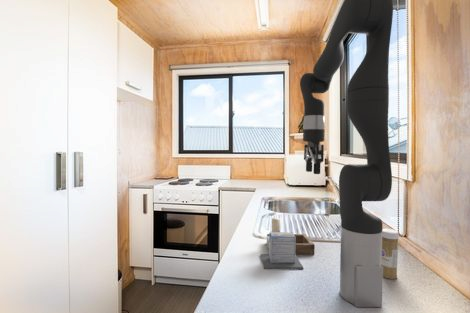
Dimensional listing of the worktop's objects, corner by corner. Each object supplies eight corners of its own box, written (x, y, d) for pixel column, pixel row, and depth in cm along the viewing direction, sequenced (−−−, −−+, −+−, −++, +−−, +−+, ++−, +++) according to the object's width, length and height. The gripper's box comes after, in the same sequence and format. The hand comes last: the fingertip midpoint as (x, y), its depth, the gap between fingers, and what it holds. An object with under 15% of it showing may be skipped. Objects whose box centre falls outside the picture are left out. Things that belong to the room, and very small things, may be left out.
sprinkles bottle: (375, 273, 78) (377, 228, 77) (386, 271, 79) (387, 227, 79) (390, 280, 73) (391, 233, 73) (401, 278, 75) (402, 231, 75)
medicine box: (292, 257, 87) (292, 232, 87) (295, 263, 83) (296, 236, 82) (268, 257, 87) (269, 231, 87) (270, 263, 83) (271, 236, 82)
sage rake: (281, 251, 94) (281, 221, 93) (269, 251, 93) (269, 221, 93) (277, 244, 101) (278, 216, 100) (266, 244, 100) (267, 216, 100)
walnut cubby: (314, 254, 92) (314, 244, 91) (271, 254, 91) (271, 244, 91) (305, 243, 103) (305, 234, 103) (267, 242, 103) (267, 233, 103)
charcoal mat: (303, 269, 80) (303, 267, 80) (264, 269, 80) (264, 267, 80) (295, 255, 90) (295, 254, 90) (260, 255, 90) (260, 254, 90)
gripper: (331, 127, 88) (330, 175, 89) (317, 130, 103) (316, 171, 103) (310, 127, 88) (308, 174, 89) (298, 129, 102) (297, 170, 103)
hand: (312, 172), depth 96 cm, fingers open, 8 cm apart
